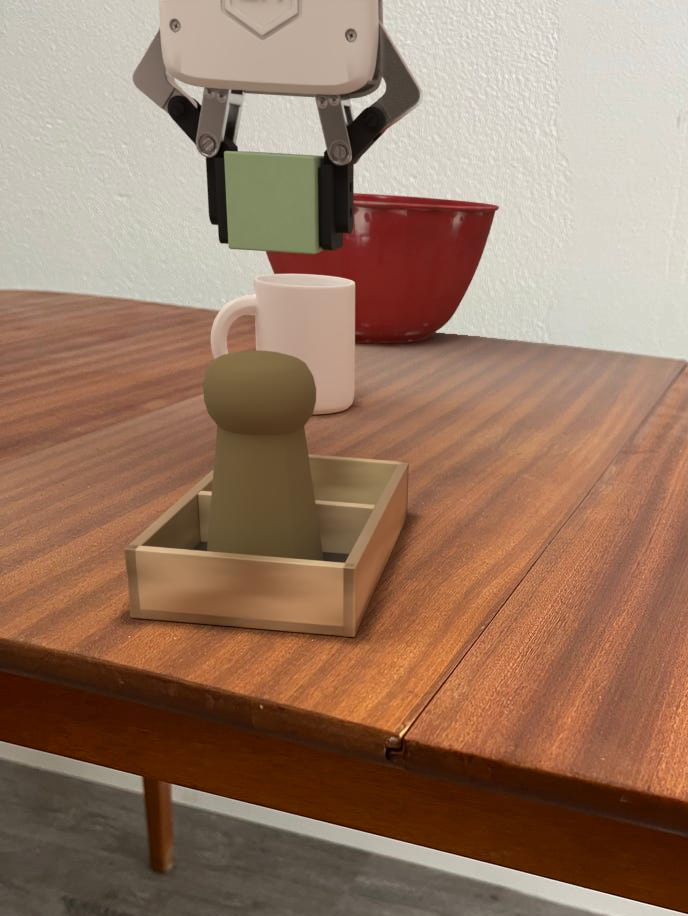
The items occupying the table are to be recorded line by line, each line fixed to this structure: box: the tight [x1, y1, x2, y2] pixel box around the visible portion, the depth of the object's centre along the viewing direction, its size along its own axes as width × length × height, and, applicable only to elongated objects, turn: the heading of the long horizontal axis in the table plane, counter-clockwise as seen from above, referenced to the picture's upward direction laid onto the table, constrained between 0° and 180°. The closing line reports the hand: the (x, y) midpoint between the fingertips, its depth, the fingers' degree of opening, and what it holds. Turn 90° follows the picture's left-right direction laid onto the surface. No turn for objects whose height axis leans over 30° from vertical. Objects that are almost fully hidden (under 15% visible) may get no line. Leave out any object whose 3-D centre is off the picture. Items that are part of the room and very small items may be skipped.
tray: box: [123, 453, 410, 638], centre depth 55 cm, size 11×18×4 cm, turn 176°
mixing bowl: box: [265, 192, 500, 344], centre depth 120 cm, size 28×28×15 cm
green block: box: [224, 150, 324, 254], centre depth 53 cm, size 4×4×4 cm
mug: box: [210, 273, 356, 416], centre depth 86 cm, size 12×8×10 cm
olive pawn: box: [202, 349, 324, 561], centre depth 50 cm, size 6×6×11 cm
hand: (282, 241), depth 54 cm, fingers closed on green block, 4 cm apart
